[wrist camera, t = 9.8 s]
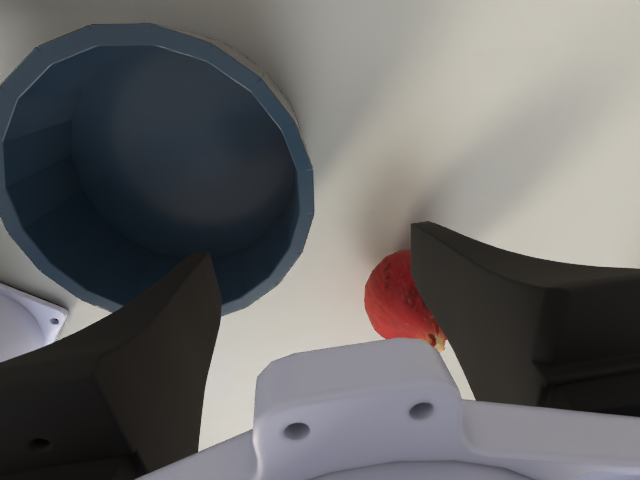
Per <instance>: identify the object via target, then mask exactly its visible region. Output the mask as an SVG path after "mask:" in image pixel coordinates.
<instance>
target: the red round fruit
mask: <svg viewBox="0 0 640 480" xmlns="http://www.w3.org/2000/svg"><path fill="white" fill-rule="evenodd" d="M364 301H365V309H366V312H367V314H368V317H369V319H370V321H371V324H372V325H373V327H374V329H375V331H376V332H377V333H378V334H380V335H381V336H382V337H384V338H385V339H392V338H413V339H422V340H423V341H425V342H427V343H428V344H430V345H431V346H433V347H434V348H436V349H437V350H438V352H439V353H440V352H441V351H443V350H444V349H445V348H444V345H445V340H447V338H446V336H445V334H444V333H443V331H442V330H441V328H440V326H439V325H438V323H437V322H436V320H435V318H434V317H433V315H432V313H431V312H430V310H429V309H428V307H427V305H426V304H425V302H424V300H423V299H422V297H421V295H420V294H419V291H418V289H417V287H416V285H415V282H414V280H413V277H412V275H411V250H400V251H398V252H396V253H394V254H392V255H389V256H387V257H385V258H384V259H383V260H382V261H381V262H380V263H379V264H378V265H377V266H376V268H375V269H374V270H373V271H372V273H371V275H370V277H369V279H368V281H367V283H366V285H365V298H364Z"/></svg>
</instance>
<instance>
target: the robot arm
mask: <svg viewBox="0 0 640 480" xmlns="http://www.w3.org/2000/svg"><path fill="white" fill-rule="evenodd" d="M411 275H412V277H413V280H414V282H415V285H416V287H417V289H418V291H419V294H420V295H421V297H422V299H423V300H424V302H425V304H426V305H427V307H428V309H429V310H430V312H431V313H432V315H433V317H434V318H435V320H436V322H437V323H438V325H439V326H440V328H441V330H442V331H443V333H444V334H445V336H446V338H447V339H448V341H449V343H450V345H451V347H452V348H453V350H454V352H455V355H456V357H457V359H458V361H459V363H460V365H461V367H462V369H463V372H464V374H465V376H466V378H467V381H468V383H469V385H470V388H471V390H472V392H473V394H474V397H475V399H476V401H474V400H464V399H462V398H461V395H460V391H459V389H458V387H457V385H456V383H455V381H454V380H453V378H452V376H451V374H450V372H449V370H448V368H447V367H446V365H445V363H444V361H443V359H442V357H441V355H440V354H439V352H438V350H437V349H436V348H434V347H433V346H431V345H430V344H428V343H427V342H425V341H423V340H422V339H413V338H392V339H386V340H379V341H373V342H366V343H359V344H353V345H346V346H340V347H333V348H326V349H320V350H313V351H307V352H300V353H294V354H291V355H289V356H286V357H283V358H280V359H278V360H275V361H272V362H271V363H270V364H269V365H268V366H267V367H266V368H265V369H264V370H263V371H262V372H261V373H260V375H259V376H258V377H257V382H256V391H255V403H254V419H253V429H251V430H249V431H247V432H244V433H242V434H240V435H237V436H235V437H233V438H230V439H228V440H226V441H223V442H221V443H219V444H216V445H214V446H212V447H209V448H207V449H205V450H202V451H200V452H198V445H199V435H200V425H201V416H202V407H203V399H204V391H205V385H206V380H207V375H208V371H209V367H210V363H211V359H212V355H213V351H214V347H215V343H216V339H217V334H218V330H219V326H220V319H221V308H222V297H221V293H220V290H219V286H218V282H217V278H216V275H215V271H214V267H213V264H212V260H211V256H210V253H209V252H202V253H194V254H191V255H189V256H188V257H186V258H185V259H184V260H183V261H181V262H180V263H179V264H178V265H177V266H175V267H174V268H173V269H172V270H171V271H169V272H168V273H167V274H166V275H165V276H163V277H162V278H161V279H160V280H159V281H157V282H156V283H155V284H154V285H152V286H151V287H150V288H148V289H147V290H146V291H144V292H143V293H142V294H140V295H139V296H138V297H136V298H135V299H134V300H132V301H131V302H129V303H128V304H126V305H125V306H123V307H121V308H120V309H118V310H117V311H115V312H113V313H112V314H110V315H108V316H107V317H105V318H103V319H101V320H99V321H97V322H95V323H93V324H91V325H90V326H88V327H86V328H84V329H82V330H80V331H78V332H76V333H74V334H72V335H69V336H67V337H65V338H63V339H61V340H58V341H56V342H55V340H56V338H57V336H58V334H59V332H60V330H61V328H62V326H63V324H64V322H65V320H66V318H67V316H68V312H67V310H66V309H64V308H62V307H60V306H57V305H55V304H52V303H50V302H47V301H45V300H42V299H39V298H37V297H34V296H32V295H29V294H27V293H24V292H22V291H19V290H17V289H14V288H12V287H9V286H6V285H4V284H1V283H0V480H640V269H634V268H613V267H596V266H586V265H577V264H569V263H562V262H555V261H550V260H544V259H539V258H534V257H529V256H525V255H521V254H517V253H514V252H510V251H506V250H503V249H500V248H496V247H494V246H491V245H488V244H485V243H482V242H479V241H477V240H474V239H472V238H469V237H467V236H464V235H462V234H459V233H457V232H455V231H452V230H450V229H448V228H445V227H443V226H440V225H438V224H435V223H432V222H429V221H426V222H419V223H412V224H411ZM54 318H55V319H57V320H58V321H57V320H55V319H54Z"/></svg>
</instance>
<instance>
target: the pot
mask: <svg viewBox="0 0 640 480" xmlns="http://www.w3.org/2000/svg"><path fill="white" fill-rule="evenodd" d="M312 168H313V167H312V164H311V161H310V158H309V155H308V151H307V148H306V145H305V142H304V139H303V136H302V134H301V131H300V128H299V125H298V123H297V120H296V117H295V115H294V112H293V109H292V106H291V105H290V103H289V102H288V100H287V99H286V98H285V97H284V95H283V94H282V92H281V91H280V90H279V88H278V87H277V86H276V84H275V83H274V82H273V81H272V79H271V78H270V77H269V76H268V74H267V73H266V72H265V71H264V70H263V69H261V68H260V67H259V66H257V65H256V64H254V63H253V62H252V61H251V60H249V59H248V58H247V57H245V56H244V55H242V54H241V53H239V52H238V51H236V50H235V49H234V48H232V47H231V46H228V45H227V44H224V43H221V42H218V41H215V40H212V39H209V38H206V37H203V36H200V35H197V34H193V33H190V32H187V31H183V30H179V29H174V28H170V27H165V26H161V25H156V24H151V23H139V24H91V25H88V26H85V27H83V28H80V29H78V30H76V31H73V32H71V33H68V34H66V35H64V36H61V37H59V38H56V39H54V40H51V41H49V42H47V43H44V44H42V45H39V46H38V47H36V48H35V49H34V50H33V51H32V52H31V53H30V54H29V55H28V56H27V57H26V58H25V59H24V60H23V61H22V62H21V63H20V64H19V66H18V67H17V68H16V69H15V70H14V71H13V72H12V73H11V74H10V75H9V76H8V77H7V78H6V79H5V80H4V81H3V82H2V83H1V85H0V217H1V219H2V221H3V223H4V226H5V228H6V230H7V232H8V234H9V235H10V236H11V237H12V239H13V240H14V241H15V242H16V243H17V245H18V246H19V247H20V248H21V249H22V250H23V252H24V253H25V254H26V255H27V256H28V258H29V259H30V260H31V261H32V262H33V264H34V265H35V266H36V267H37V268H38V269H39V270H41V272H42V273H43V274H45V275H46V276H48V277H49V278H50V279H52V280H53V281H55V282H56V283H57V284H59V285H60V286H62V287H63V288H64V289H66V290H67V291H69V292H70V293H71V294H73V295H74V296H76V297H77V298H79V299H80V300H82V301H84V302H87V303H89V304H92V305H94V306H97V307H99V308H101V309H104V310H106V311H109V312H111V313H113V312H115V311H117V310H118V309H120V308H121V307H123V306H125V305H126V304H128V303H129V302H131V301H132V300H134V299H135V298H136V297H138V296H139V295H140V294H142V293H143V292H144V291H146V290H147V289H148V288H150V287H151V286H152V285H154V284H155V283H156V282H157V281H159V280H160V279H161V278H162V277H163V276H165V275H166V274H167V273H168V272H169V271H171V270H172V269H173V268H174V267H175V266H177V265H178V264H179V263H180V262H181V261H183V260H184V259H185V258H186V257H188V256H189V255H191V254H194V253H202V252H209V253H210V256H211V260H212V264H213V267H214V271H215V275H216V278H217V282H218V286H219V290H220V293H221V297H222V308H221V316H224V315H227V314H230V313H232V312H235V311H238V310H241V309H244V308H246V307H248V306H249V305H251V304H252V303H254V302H255V301H256V300H258V299H259V298H261V297H262V296H263V295H265V294H266V293H267V292H269V291H270V290H272V289H273V288H274V287H276V286H277V285H278V284H279V283H280V282H281V281H282V279H283V278H284V277H285V275H286V274H287V273H288V271H289V270H290V268H291V267H292V266H293V264H294V263H295V262H296V260H297V259H298V258H299V256H300V255H301V252H303V249H304V245H305V242H306V239H307V236H308V233H309V229H310V226H311V223H312V220H313V217H314V182H313V169H312Z"/></svg>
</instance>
